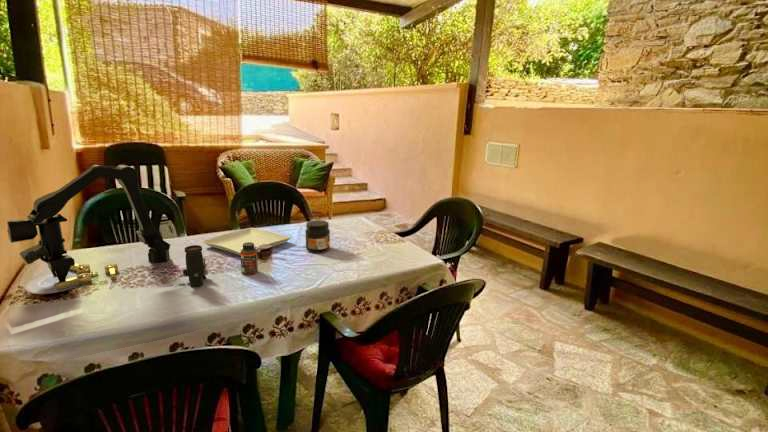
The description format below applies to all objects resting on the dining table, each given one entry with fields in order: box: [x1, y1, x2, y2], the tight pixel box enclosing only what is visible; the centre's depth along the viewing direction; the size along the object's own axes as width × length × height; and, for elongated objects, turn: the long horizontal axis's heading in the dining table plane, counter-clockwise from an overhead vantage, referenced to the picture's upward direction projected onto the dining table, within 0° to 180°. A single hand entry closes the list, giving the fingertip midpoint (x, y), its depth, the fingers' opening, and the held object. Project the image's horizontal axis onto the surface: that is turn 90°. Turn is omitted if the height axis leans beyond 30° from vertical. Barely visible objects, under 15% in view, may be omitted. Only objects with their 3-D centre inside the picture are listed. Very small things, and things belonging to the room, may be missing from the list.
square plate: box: [202, 227, 292, 256], centre depth 189 cm, size 27×27×4 cm
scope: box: [182, 244, 209, 289], centre depth 148 cm, size 8×14×10 cm
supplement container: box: [304, 219, 331, 254], centre depth 185 cm, size 10×10×12 cm
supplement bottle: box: [240, 242, 259, 276], centre depth 159 cm, size 6×6×11 cm
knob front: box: [69, 262, 92, 275], centre depth 154 cm, size 10×4×3 cm, turn 65°
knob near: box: [104, 263, 119, 281], centre depth 152 cm, size 10×4×3 cm, turn 35°
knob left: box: [55, 273, 93, 291], centre depth 143 cm, size 10×4×3 cm, turn 148°
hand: (59, 280), depth 144 cm, fingers open, 6 cm apart
